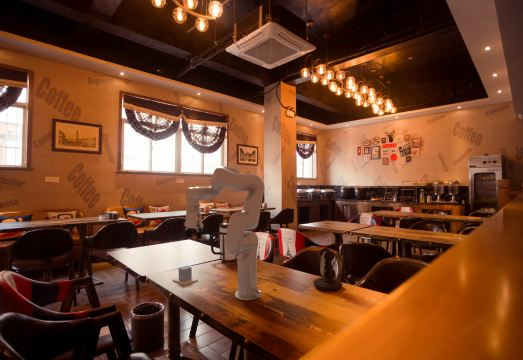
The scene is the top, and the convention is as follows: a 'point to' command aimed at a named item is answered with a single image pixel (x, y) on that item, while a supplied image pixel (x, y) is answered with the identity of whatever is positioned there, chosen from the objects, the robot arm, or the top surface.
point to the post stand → (185, 281)
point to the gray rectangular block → (185, 273)
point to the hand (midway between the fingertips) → (193, 238)
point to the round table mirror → (327, 272)
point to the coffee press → (223, 243)
